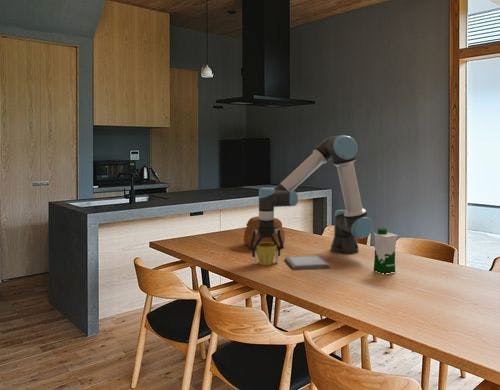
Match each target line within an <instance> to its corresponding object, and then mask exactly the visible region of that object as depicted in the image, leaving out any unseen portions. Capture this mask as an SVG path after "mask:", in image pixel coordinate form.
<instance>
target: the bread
mask: <svg viewBox="0 0 500 390" xmlns="http://www.w3.org/2000/svg"><path fill="white" fill-rule="evenodd" d="M273 220H274V229H279V230H280V236H281V239H282V243H283V246H284V244H285V241H286V240H285V239H286V238H285V237H286V236H285V230H284V228H283V223H282V221H281V220H280V219H279V218H277V217H274V218H273ZM258 228H259V215H258V216H253V217H251V218H249V220H248V221H247V223H246V228H245V229H244V233H243V242H244V245H245V246H248V247H249V244H250V241H251V237H252V230H258ZM259 235H260V234H259V233H258V232H257V234H256V235H255V239H254V242H253V246H254V244H255V242H256V241H257V239H258V237H259ZM273 237H274V239H275V240H276V242H277V244H278V245H279V246H280V243H279V240H278V236H277V234H276V232H274V233H273ZM261 242H271V243H274V242H273V241H272V239H271V237H270V238H262V240H261V241H260V243H261ZM253 246H252V247H253Z"/></svg>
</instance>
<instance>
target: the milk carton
mask: <svg viewBox="0 0 500 390" xmlns="http://www.w3.org/2000/svg"><path fill="white" fill-rule="evenodd" d="M373 238H374V262H373V263H374V264H373V270H374V271H373V272H375V271H377V272H376V273H378V272H380V273H384V274H386V273H391V272H395V273H396V247H397V246H396V245H397V240H398V234H394V233H391V232H388V229H387V228H385V227H384V228H381V227H379V228H378V229H377V232H375V233H373ZM380 273H379V274H380Z"/></svg>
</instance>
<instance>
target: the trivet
mask: <svg viewBox="0 0 500 390" xmlns="http://www.w3.org/2000/svg"><path fill="white" fill-rule="evenodd" d="M284 260H285V262H286V263H288V265H289V266H290V267H291V268H292V269H293V270H307V269H308V270H310V269H312V270H313V269H330V268H331V265H330V263H328V262H327V261H326V260H325V259H324V258H322V257H321V256H320V255H302V256H301V255H299V256H298V255H297V256H295V255H293V256H284Z"/></svg>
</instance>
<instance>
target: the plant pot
mask: <svg viewBox="0 0 500 390" xmlns="http://www.w3.org/2000/svg"><path fill="white" fill-rule="evenodd" d="M255 250H256V251H257V258H258V262H259V263H258V264H259V265H261V266H270V265H273V262H274V259H275V256H276V251H277V245H275V244H274V243H271V242H261V243H259V244H258V246H257V248H256V249H255Z"/></svg>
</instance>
